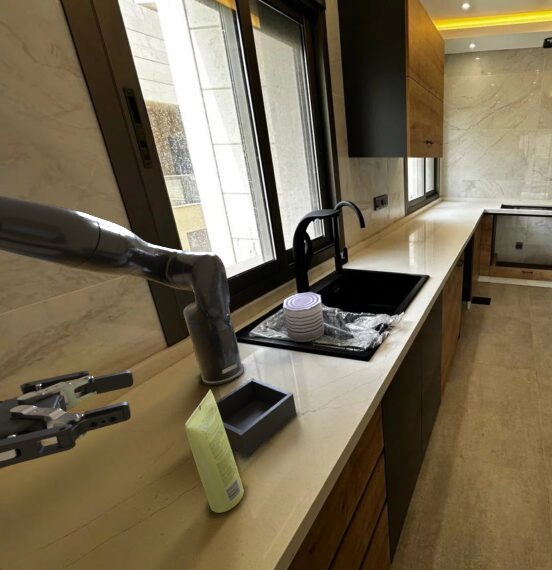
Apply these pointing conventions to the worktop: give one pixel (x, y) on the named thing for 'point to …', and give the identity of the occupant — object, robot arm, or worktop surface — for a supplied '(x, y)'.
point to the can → (304, 316)
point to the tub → (254, 414)
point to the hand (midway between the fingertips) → (131, 392)
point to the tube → (214, 456)
